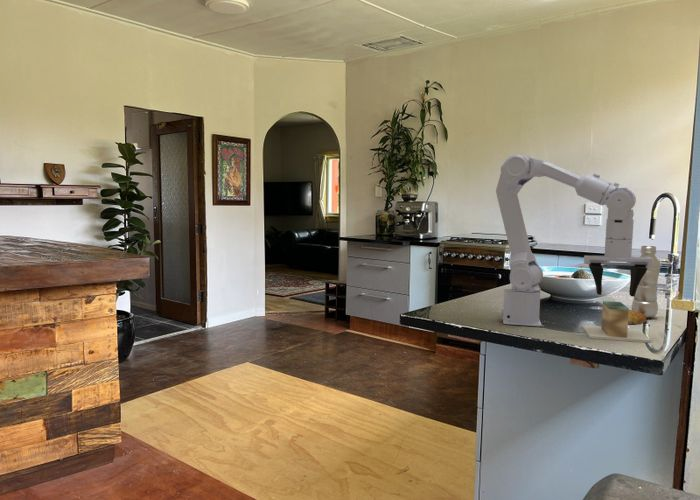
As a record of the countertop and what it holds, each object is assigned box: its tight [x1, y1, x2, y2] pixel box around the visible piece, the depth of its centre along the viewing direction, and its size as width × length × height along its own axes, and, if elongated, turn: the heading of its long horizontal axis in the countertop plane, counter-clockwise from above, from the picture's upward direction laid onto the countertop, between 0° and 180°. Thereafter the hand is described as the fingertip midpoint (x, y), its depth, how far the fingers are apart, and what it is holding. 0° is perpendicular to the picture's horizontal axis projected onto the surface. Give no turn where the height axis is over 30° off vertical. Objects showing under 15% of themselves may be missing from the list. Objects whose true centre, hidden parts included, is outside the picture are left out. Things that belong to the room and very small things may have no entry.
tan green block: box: [600, 300, 630, 338], centre depth 125 cm, size 4×8×7 cm, turn 165°
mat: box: [581, 324, 652, 344], centre depth 126 cm, size 13×11×1 cm
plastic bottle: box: [631, 245, 662, 319], centre depth 144 cm, size 6×7×20 cm
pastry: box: [628, 309, 647, 325], centre depth 140 cm, size 9×7×4 cm
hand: (615, 294), depth 125 cm, fingers open, 7 cm apart
